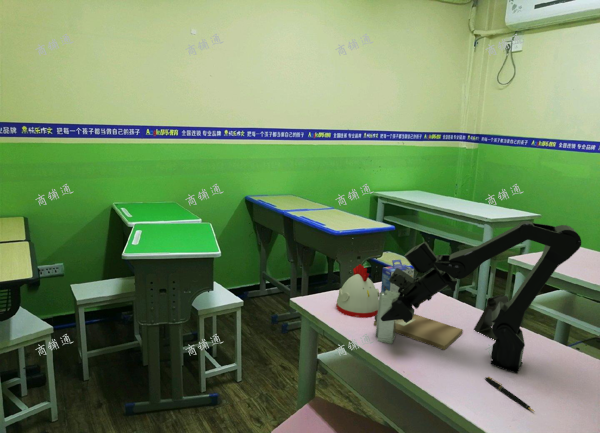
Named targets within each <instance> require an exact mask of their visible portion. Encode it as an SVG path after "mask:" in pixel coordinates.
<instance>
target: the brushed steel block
mask: <svg viewBox="0 0 600 433" xmlns="http://www.w3.org/2000/svg"><path fill="white" fill-rule="evenodd" d="M398 296H400V293H398V292H393V291H387V290H386V291H385V293H384V292H381V291H379V297H378V298H379V305H378V315H377V326H376V325H375V326H376V328H375V338H377V342H380V343H385V344H389V345H392V344H393V342H394V340H395V338H396V335H397V333H396V327H397V320H391V321H382V320H381V317H382V316H383V315H384V314H385V313H386V312H387V311H388V310H389V309H390V308H391V307H392V304H391V303H392V301H393V299H395V298H397V297H398Z"/></svg>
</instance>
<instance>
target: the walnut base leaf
mask: <svg viewBox="0 0 600 433" xmlns="http://www.w3.org/2000/svg"><path fill="white" fill-rule="evenodd" d="M377 315H378V314H377ZM377 315H375V316H374V321H373V325H374V326H377ZM463 332H464V329H463V328H459V327H456V326H453V325H450V324H447V323H443V322H440V321H437V320H435V319H431V318H427V317H424V316H421V315H418V314H415V313H414V316H413V318H412V320H410V321H409V322H407V323H406V322H404V320H397V327H396V334H398V335H401V336H404V337H407V338H409V339H413V340H415V341H418V342H421V343H424V344H427V345H429V346H432V347H435V348H438V349H441V350H443V351H446V349H447V348H449V347H450V346H451V344H453V343H454V342H455V341H456V340H457V339H458V338H459V337H461V335H463Z"/></svg>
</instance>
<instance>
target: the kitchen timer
mask: <svg viewBox="0 0 600 433" xmlns="http://www.w3.org/2000/svg"><path fill="white" fill-rule="evenodd" d="M352 270H353V275H352V276H350V277H349V278H348V279H347V280H346V281H345V282H344V283H343V285H342V287H341V288H339V290H338V296H337V299H336V306H335V307H336V309H337V311H338V312H339V313H341V314H343V315H345V316H348V317H351V318H359V319H362V318H363V319H366V318H367V319H368V318H372V317H375V315H377V314H378V305H379V295H380V290H379V288H376V286H375V284H374V282H373V281H372V280H371V279H370V278H369V276H370V273H368V272H367V271H368V268H365V266H364V265H362V264H358V265H357V266H355V267H354V268H353V269H352Z"/></svg>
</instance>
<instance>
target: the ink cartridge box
mask: <svg viewBox="0 0 600 433" xmlns="http://www.w3.org/2000/svg"><path fill="white" fill-rule="evenodd" d="M391 263H392V266H386V267H384V266H383V267H382V274H381V287H380V288H381V289H380V292H384V293H385V291H386V290H387V291H393V292H398V290H399V287H398V286H396V285H395V284H392V283H390V282H389V279H390V277H391V276H392V274H393V272H394V271H395V269H396V268H399V269H401V270H402V271H404V272H405V273H407V274H408V275H410V276H411V277H412V278H414V275H415V274H414V272H415V269H414V268H413V267H411V266H409V265H407V264H403V263H402V260H401V259H395V260H394V259H393V260H391ZM395 263H398V264H395Z"/></svg>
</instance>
